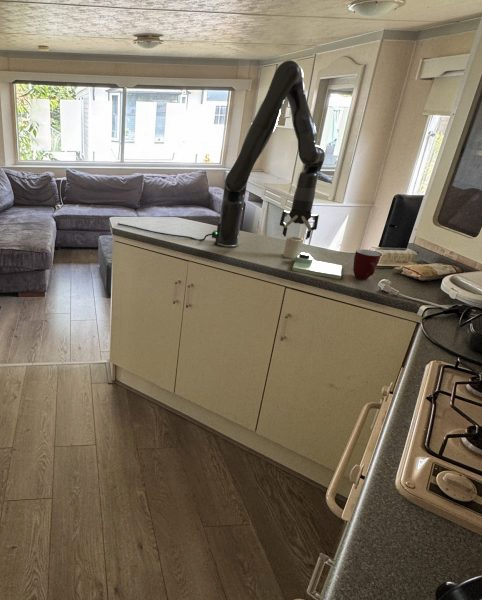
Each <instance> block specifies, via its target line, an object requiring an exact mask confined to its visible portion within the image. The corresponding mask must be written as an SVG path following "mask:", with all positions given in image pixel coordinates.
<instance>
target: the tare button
mask: <svg viewBox="0 0 482 600" xmlns="http://www.w3.org/2000/svg"><path fill="white" fill-rule="evenodd" d="M299 255H300V258H304V259H309V257H310V256H311V254H310V253H309V252H300V254H299Z"/></svg>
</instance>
